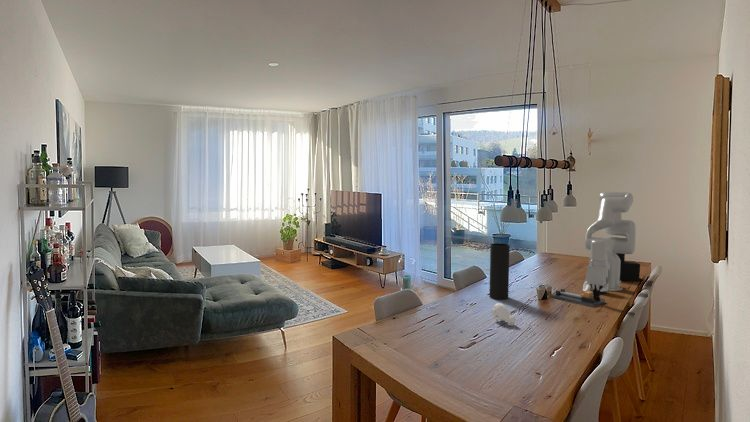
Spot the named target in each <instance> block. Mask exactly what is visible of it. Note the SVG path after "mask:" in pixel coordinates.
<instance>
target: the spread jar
mask: <svg viewBox="0 0 750 422" xmlns="http://www.w3.org/2000/svg"><path fill="white" fill-rule="evenodd" d="M607 286H608V284H607ZM582 291H583V292H586V291H591V292H593V289H592V287H591V286H590V285H588V284H587V282H586V280H585V281H584V282H583V285H582ZM608 291H609V290H608V287H607V288H602V289H601V290H600V295H604V294H606V293H607V292H608Z"/></svg>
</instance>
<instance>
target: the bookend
mask: <svg viewBox="0 0 750 422" xmlns="http://www.w3.org/2000/svg"><path fill="white" fill-rule="evenodd" d="M616 254H617V255H618V257H619V258H620V261H621V265H620V281H627V282H643V278H641V277H640V271H641V263H639V262H637V261H632V260H631V261H630V260H625V259H626V258H625V255H626V254H621V253H616Z"/></svg>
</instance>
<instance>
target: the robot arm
mask: <svg viewBox="0 0 750 422" xmlns="http://www.w3.org/2000/svg"><path fill="white" fill-rule="evenodd" d="M598 197H599V202H600V203H599V207H598V214H597V220H596V221H594V222H593V223H591V225H590V226H589V227H588V228H587V230H586V232H585V236H584V237H585V238H584V241H583V246H584V249H585V250H586V251H589V252H590V255H589V256H590V257H589V259H587V262H588V263H589V264H588V265H587V268H586V274H585V281H586V282H587V284H588V285H590V286H591V287H592V289H593V296H594V297H596V298H597V297H601V294H600V290H601V289H602V288H607V287H608V291H610V292H620V291H623V287H622V286H621V285H620V284H622V280H620V265H621V261H620V258H619V257H618V255H617V254H616V253H621V254H625V255H632V254H634V252H635V251H636V227H637V226H636V223H635V222H634V221H633V220H630V219H622V213H628V212H629V210H630V209H631V207H632V206H633V203H634V196H633V194H632V193H631V192H626V191H625V192H624V191H622V192H620V191H603V192H601V193H600V194H599V196H598ZM603 229H604V231H605V233H606V234H607V235H611V236H606V237H602V238H601V237H593V235H594V234H595V233H596V232H598V231H601V230H603ZM618 236H621V237H618ZM607 284H608V286H607Z"/></svg>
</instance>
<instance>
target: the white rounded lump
mask: <svg viewBox="0 0 750 422" xmlns="http://www.w3.org/2000/svg"><path fill="white" fill-rule="evenodd" d="M491 312H492V316H493V319H494V323H498V321H503V322H504V321H505V322H506V324H507V326H511V327H513V326H514V325H515V323H516V318H515V316H514V315H511V312H510V311H509V309H508V308H507V306H506V305H505V304H504V303H499V302H497V303H495V304H494V305H493V307H492V309H491Z"/></svg>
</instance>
